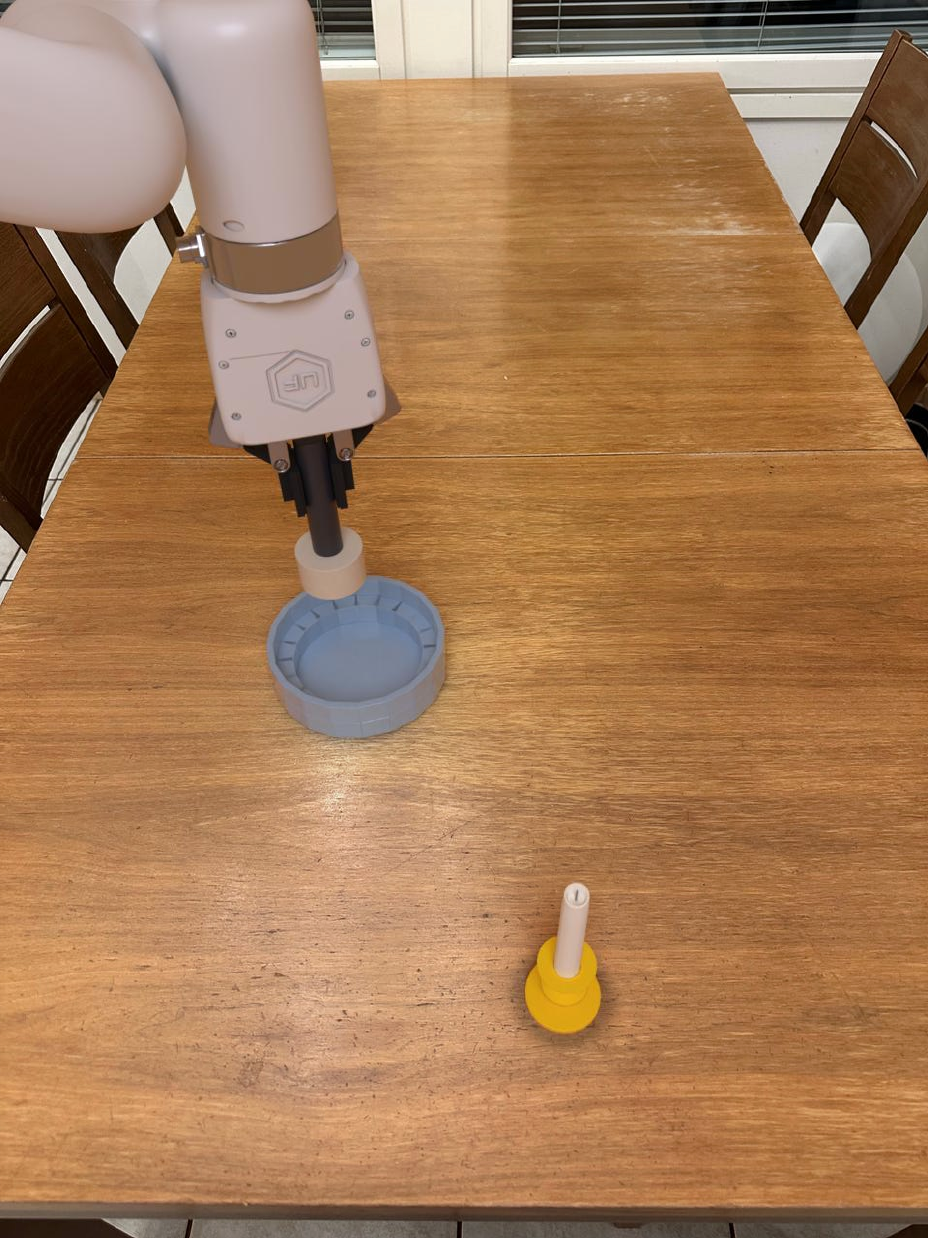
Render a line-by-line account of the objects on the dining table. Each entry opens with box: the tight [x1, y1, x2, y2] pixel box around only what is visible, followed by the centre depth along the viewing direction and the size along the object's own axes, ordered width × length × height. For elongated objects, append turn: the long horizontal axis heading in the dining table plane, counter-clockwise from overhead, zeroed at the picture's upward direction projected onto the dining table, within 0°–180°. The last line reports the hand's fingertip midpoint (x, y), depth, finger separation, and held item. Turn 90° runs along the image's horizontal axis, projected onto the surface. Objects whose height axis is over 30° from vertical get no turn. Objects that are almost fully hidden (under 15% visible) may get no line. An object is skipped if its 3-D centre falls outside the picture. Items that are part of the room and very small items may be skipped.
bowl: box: [265, 574, 447, 739], centre depth 83 cm, size 15×15×5 cm
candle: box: [524, 882, 602, 1035], centre depth 59 cm, size 5×5×16 cm
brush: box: [291, 434, 368, 600], centre depth 67 cm, size 5×5×13 cm
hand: (319, 498), depth 66 cm, fingers closed on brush
